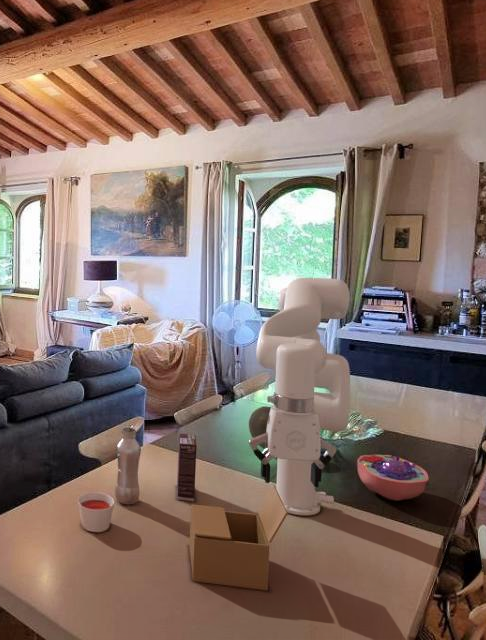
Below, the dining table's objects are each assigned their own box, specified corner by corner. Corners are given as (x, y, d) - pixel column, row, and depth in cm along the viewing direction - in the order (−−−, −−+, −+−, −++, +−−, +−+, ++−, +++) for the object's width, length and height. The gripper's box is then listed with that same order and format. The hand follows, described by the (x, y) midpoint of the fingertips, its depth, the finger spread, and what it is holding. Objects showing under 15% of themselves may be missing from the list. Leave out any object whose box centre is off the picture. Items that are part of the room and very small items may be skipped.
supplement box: (195, 502, 143) (197, 445, 142) (177, 500, 144) (178, 443, 143) (193, 487, 152) (195, 434, 150) (176, 486, 152) (178, 432, 151)
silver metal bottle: (112, 496, 146) (114, 425, 144) (136, 495, 146) (138, 425, 145) (117, 507, 139) (118, 434, 138) (142, 507, 140) (144, 433, 139)
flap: (257, 511, 118) (258, 512, 118) (268, 542, 106) (270, 543, 106) (272, 484, 117) (274, 485, 117) (286, 512, 105) (288, 513, 105)
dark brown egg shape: (294, 448, 183) (296, 406, 182) (287, 462, 171) (289, 417, 170) (252, 439, 190) (254, 399, 189) (242, 452, 179) (244, 409, 178)
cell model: (418, 486, 155) (420, 449, 154) (432, 518, 137) (435, 475, 136) (353, 475, 162) (355, 439, 161) (358, 503, 144) (361, 463, 143)
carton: (256, 554, 119) (257, 510, 118) (267, 590, 107) (269, 542, 106) (189, 546, 122) (190, 504, 121) (193, 581, 109) (194, 533, 108)
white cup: (88, 538, 124) (89, 513, 124) (71, 520, 132) (71, 496, 132) (120, 529, 128) (121, 505, 128) (101, 513, 136) (101, 489, 136)
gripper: (254, 405, 107) (250, 486, 108) (344, 411, 104) (340, 494, 105) (247, 395, 115) (244, 471, 116) (331, 400, 112) (328, 478, 113)
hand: (290, 482), depth 111 cm, fingers open, 9 cm apart
